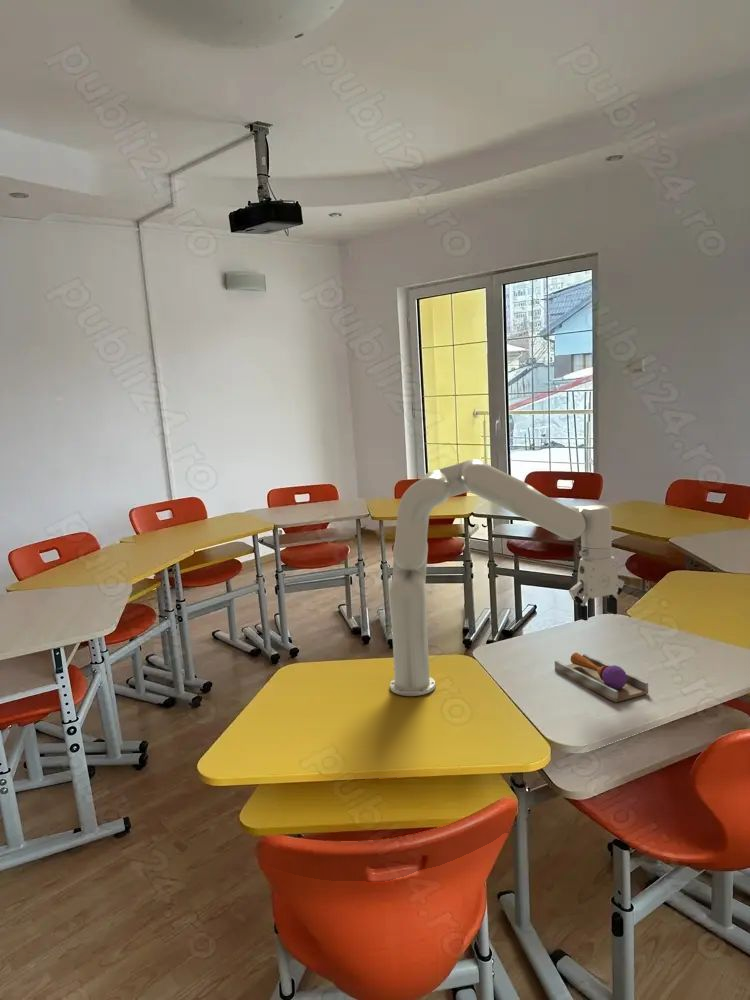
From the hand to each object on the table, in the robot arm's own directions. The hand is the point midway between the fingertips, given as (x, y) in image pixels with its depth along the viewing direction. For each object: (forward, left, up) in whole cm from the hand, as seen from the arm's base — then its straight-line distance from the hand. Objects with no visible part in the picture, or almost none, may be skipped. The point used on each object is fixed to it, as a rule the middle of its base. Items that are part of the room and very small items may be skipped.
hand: (597, 616), depth 177 cm
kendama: (0, 0, -17) cm, 17 cm away
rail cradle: (0, 0, -18) cm, 18 cm away
